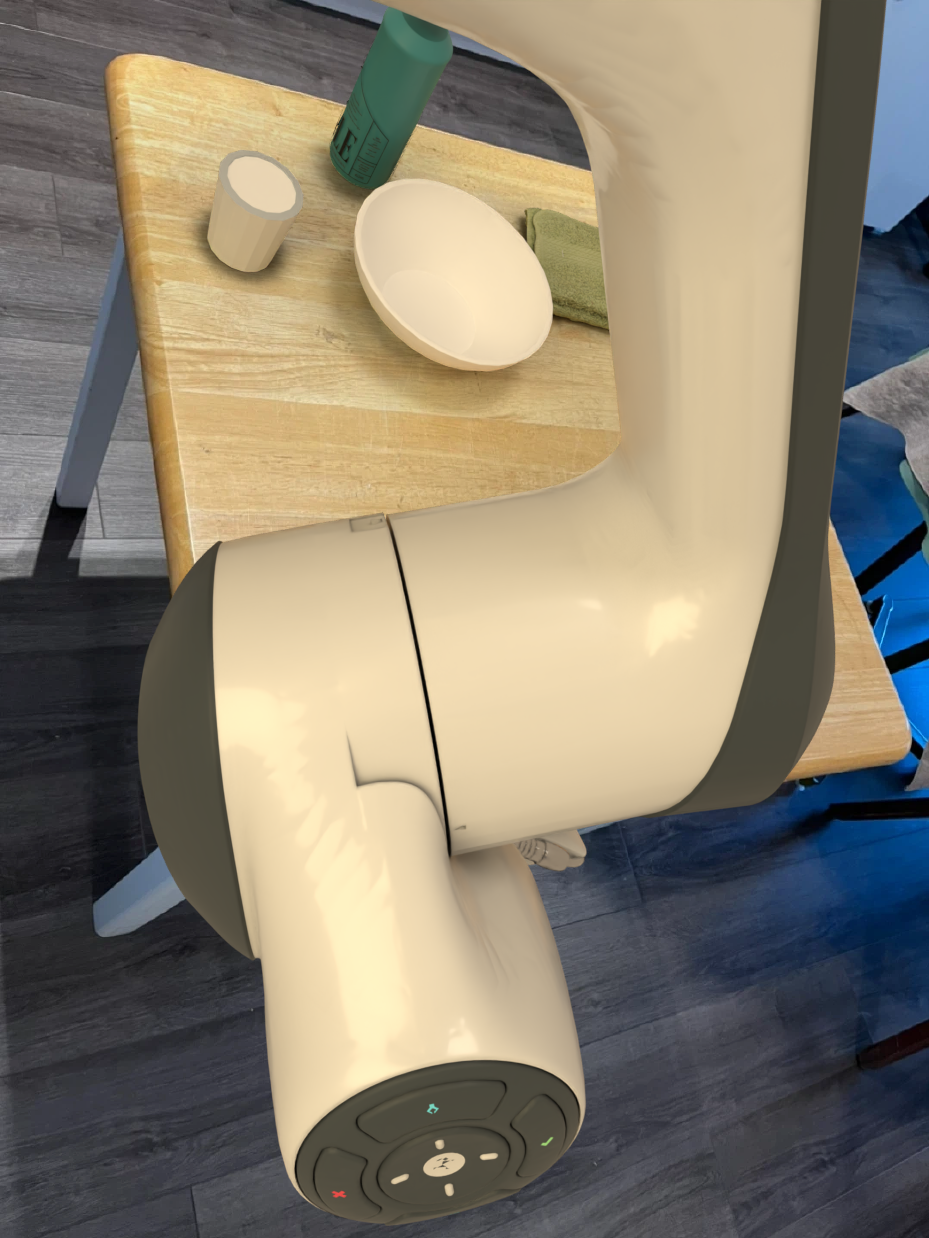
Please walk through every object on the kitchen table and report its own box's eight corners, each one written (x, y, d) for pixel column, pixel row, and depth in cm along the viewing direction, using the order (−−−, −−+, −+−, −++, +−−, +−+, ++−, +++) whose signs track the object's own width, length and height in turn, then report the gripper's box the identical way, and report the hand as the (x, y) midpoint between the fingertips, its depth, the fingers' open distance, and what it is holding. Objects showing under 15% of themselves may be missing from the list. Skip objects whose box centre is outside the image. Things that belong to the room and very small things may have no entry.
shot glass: (294, 255, 78) (320, 197, 72) (246, 291, 74) (270, 233, 68) (234, 200, 77) (255, 136, 71) (182, 233, 73) (200, 169, 67)
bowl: (290, 319, 75) (316, 265, 70) (378, 197, 85) (407, 141, 80) (477, 447, 80) (515, 406, 75) (539, 317, 90) (577, 272, 85)
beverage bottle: (397, 193, 87) (496, 8, 70) (351, 211, 83) (444, 21, 67) (354, 141, 87) (444, -57, 70) (306, 157, 83) (389, -48, 66)
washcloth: (514, 212, 94) (530, 190, 92) (645, 261, 102) (663, 242, 100) (525, 310, 90) (542, 290, 87) (661, 354, 98) (680, 336, 95)
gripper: (634, 823, 38) (550, 686, 50) (176, 633, 31) (213, 531, 44) (559, 935, 39) (496, 774, 52) (107, 774, 33) (162, 636, 46)
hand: (363, 661), depth 48 cm, fingers open, 8 cm apart
